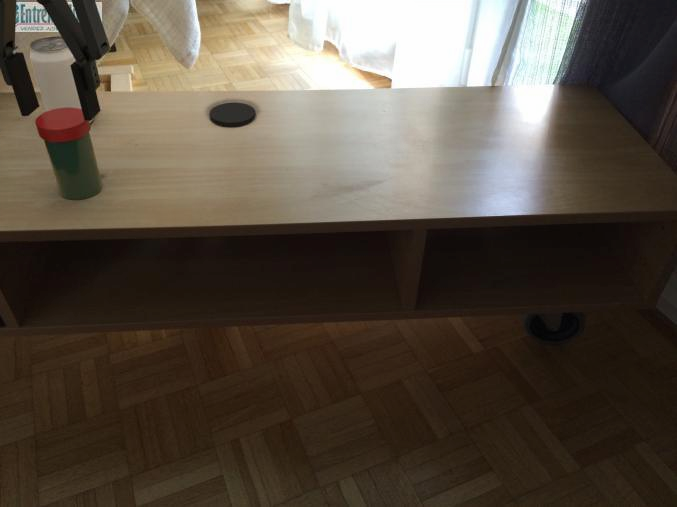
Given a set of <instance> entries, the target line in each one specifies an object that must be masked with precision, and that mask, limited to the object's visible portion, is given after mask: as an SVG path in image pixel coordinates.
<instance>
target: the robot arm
mask: <svg viewBox="0 0 677 507" xmlns="http://www.w3.org/2000/svg"><path fill="white" fill-rule="evenodd" d="M17 1H18V0H0V71H1V75H2V78H3V81H4V82H5V84H6V86H9V87H11V88H12V90H13V93H14V96H15V100H16V102H17V105H18V108H19V109H18V110H19V112H20V114H21V116H22V117H29V116H31V114H33V113H34V112H35V111H36V110H37V109H39V107H40V104H39V100H38V97H37V94H36V90H35V87H34V83H33V81H32V80H33V79H32V77H31V74H30V71H29V68H28V64H27V62H26V61H27V60H26V58H25V55H24V52H22V51H21V52H20V51H16V50H17V49H18V48H19V46H18V45H16V26H17V25H16V24H17ZM35 1H36V3H38V4H39V5H41V6H42V7H43V9H44V10H45V11H46V13H47V16H48V17H49V18H50V20H51V21H52V23H53V24H54V27H55V28H56V30H57V31H58V34H59V36H61V37H62V38H63V40H64V42H65V43H66V45H67V47H68V48H69V50H70V51H71V53H72V55H73V56H74V58H75V60H76V61H75V62H74V63H73V64H71V65H70V67H71V70H72V74H73V78H74V82H75V86H76V89H77V93H78V97H79V101H80V105H81V109H82V112H83V116H84V120H87V121H91V120H92V119H93V118H94V119H95V117H96V116H97V115H98V114H99V113H100V112H101V106H100V102H99V98H98V94H97V93H98V92H97V89H98V88H100V86H101V78H100V74H99V70H98V65H97V61H99V60H101V59H102V58H103V57H104V56H105V55H106V54H108V53H109V51H111V46H110V43H109V39H108V36H107V34H106V31H105V28H104V24H103V21H102V17H101V14H100V12H99V8H98V5H97V3H96V0H70V2H71V4H72V6H73V9H74V11H73V9H72V8H71V6H70V4H69V3H68V1H67V0H35ZM74 12H75V13H74ZM14 51H15V53H14ZM94 119H93V120H94ZM93 120H92V121H93Z"/></svg>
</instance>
